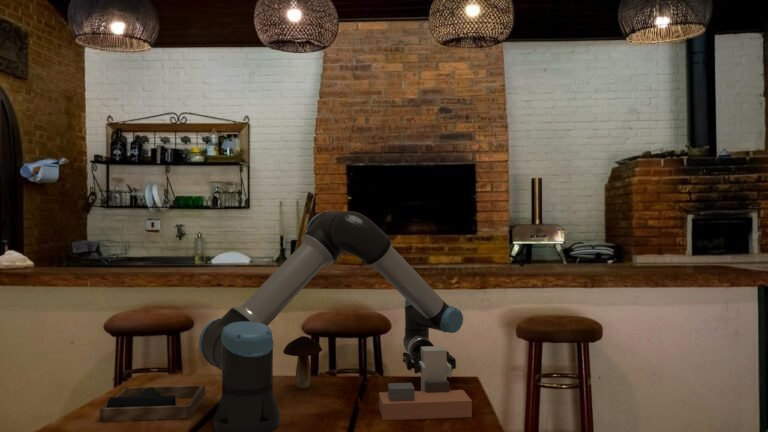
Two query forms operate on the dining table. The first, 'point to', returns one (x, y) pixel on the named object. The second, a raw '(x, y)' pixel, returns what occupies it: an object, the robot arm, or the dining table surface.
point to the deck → (423, 402)
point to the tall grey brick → (434, 364)
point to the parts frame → (155, 411)
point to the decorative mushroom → (303, 358)
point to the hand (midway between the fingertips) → (437, 372)
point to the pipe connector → (143, 399)
